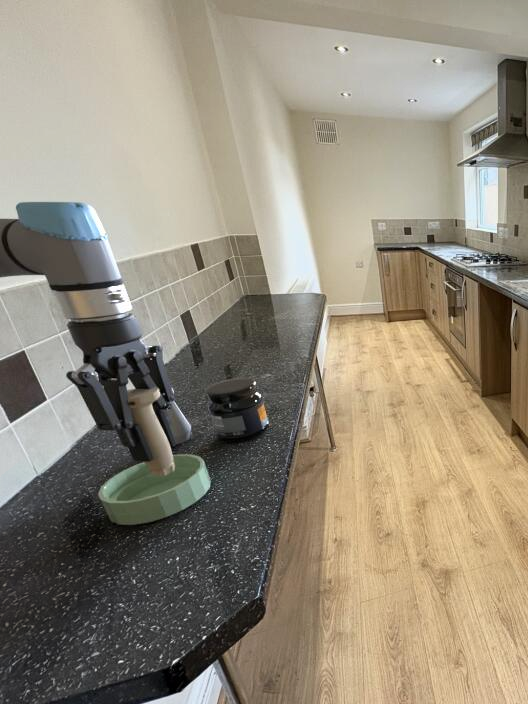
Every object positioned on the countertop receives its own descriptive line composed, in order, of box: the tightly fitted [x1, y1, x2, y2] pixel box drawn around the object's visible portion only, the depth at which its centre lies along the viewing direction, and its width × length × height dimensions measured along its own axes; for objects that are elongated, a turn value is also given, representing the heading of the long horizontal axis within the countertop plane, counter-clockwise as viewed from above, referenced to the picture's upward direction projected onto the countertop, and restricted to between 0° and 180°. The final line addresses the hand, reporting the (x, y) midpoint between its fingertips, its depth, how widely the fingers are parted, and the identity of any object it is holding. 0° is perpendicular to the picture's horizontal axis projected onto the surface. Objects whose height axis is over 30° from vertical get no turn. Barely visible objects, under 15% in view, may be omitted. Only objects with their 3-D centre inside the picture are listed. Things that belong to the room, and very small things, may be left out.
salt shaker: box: [163, 388, 192, 445], centre depth 90 cm, size 6×6×13 cm
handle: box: [127, 387, 175, 477], centre depth 68 cm, size 5×6×15 cm
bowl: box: [97, 453, 212, 526], centre depth 72 cm, size 14×14×5 cm
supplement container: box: [204, 377, 270, 444], centre depth 93 cm, size 10×10×12 cm
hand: (156, 452), depth 69 cm, fingers closed on handle, 4 cm apart
